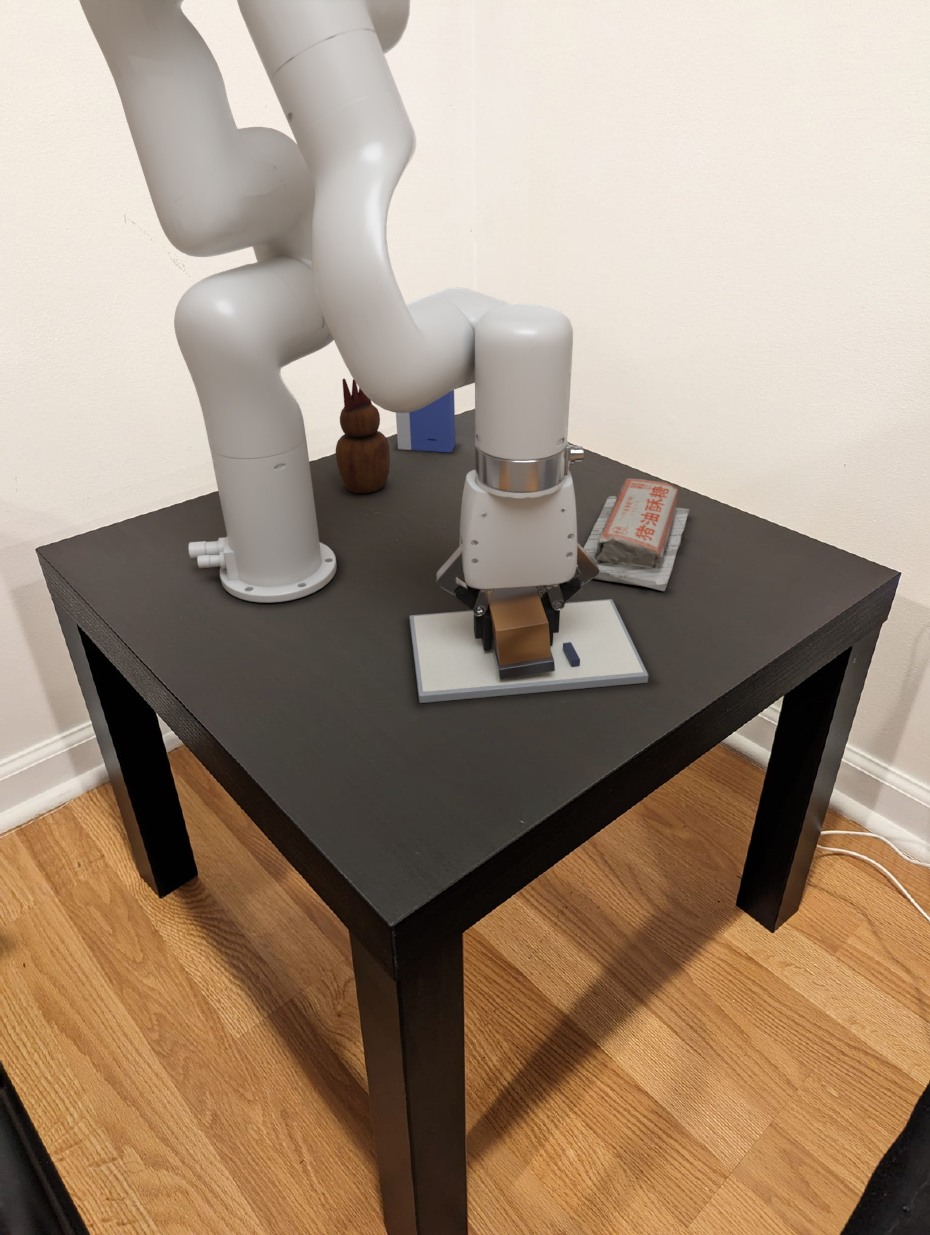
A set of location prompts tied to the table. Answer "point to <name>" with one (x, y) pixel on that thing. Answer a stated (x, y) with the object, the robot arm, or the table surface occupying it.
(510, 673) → the eraser
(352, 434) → the wooden figurine
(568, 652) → the stroke
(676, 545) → the packaged product
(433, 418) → the walkman
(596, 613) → the whiteboard
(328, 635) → the table surface
